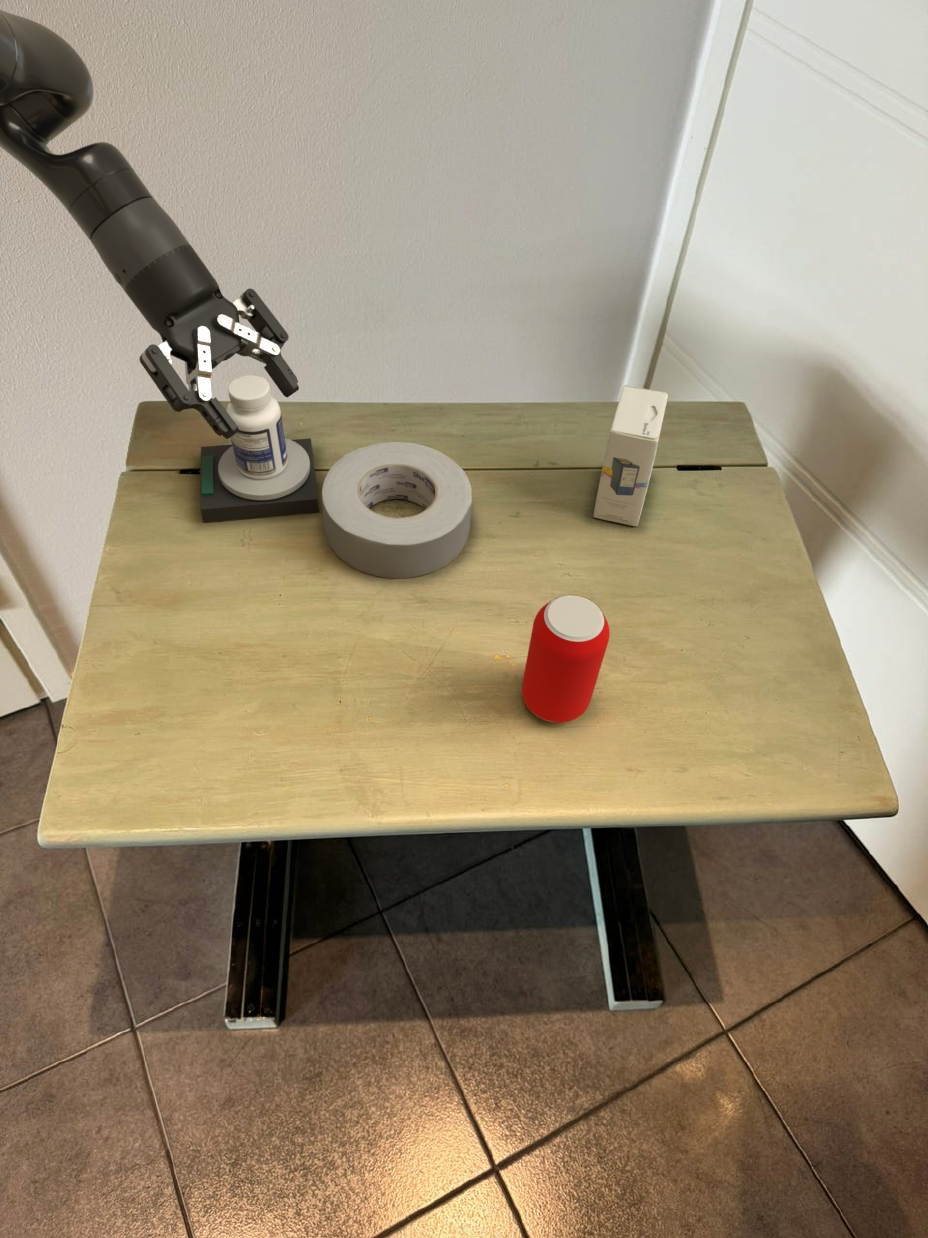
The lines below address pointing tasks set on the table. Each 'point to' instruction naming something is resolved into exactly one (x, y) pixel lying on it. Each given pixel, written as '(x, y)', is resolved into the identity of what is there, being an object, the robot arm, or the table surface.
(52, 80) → the robot arm
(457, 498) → the tape roll
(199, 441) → the table surface
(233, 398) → the pill bottle
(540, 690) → the beverage can
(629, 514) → the ink box
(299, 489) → the scale
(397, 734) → the table surface
